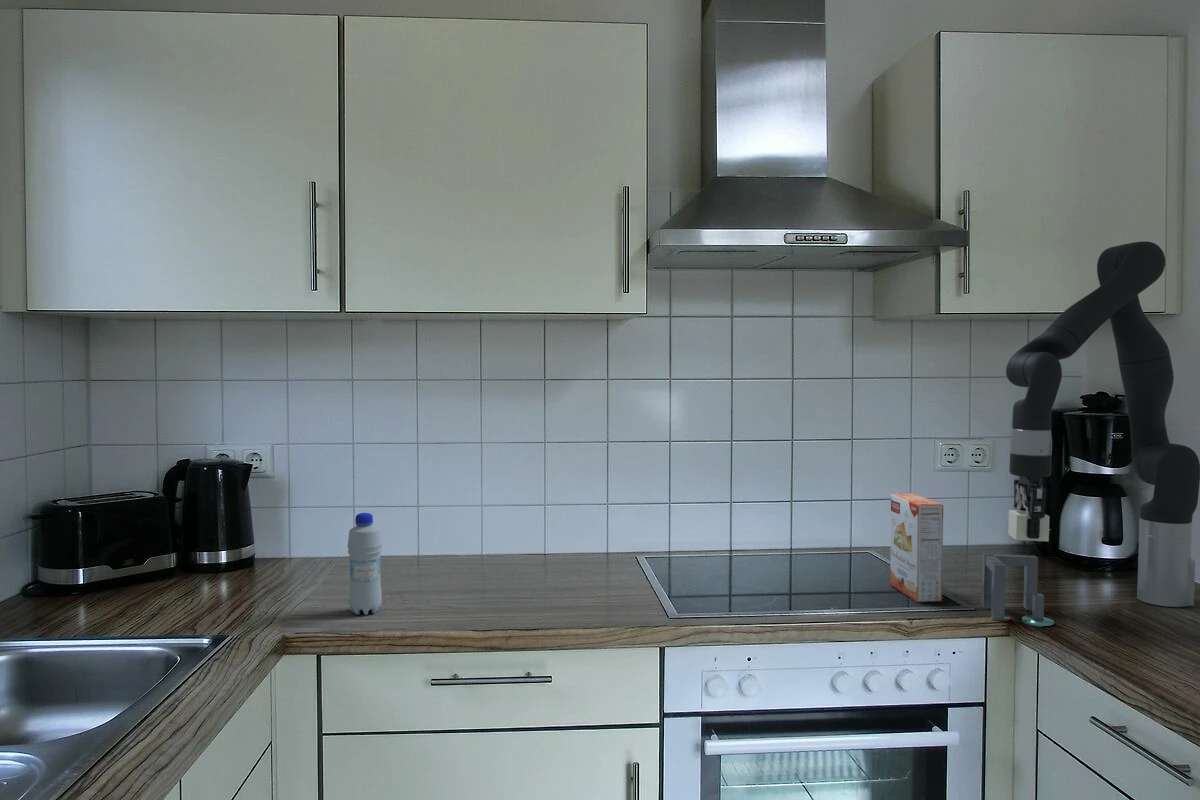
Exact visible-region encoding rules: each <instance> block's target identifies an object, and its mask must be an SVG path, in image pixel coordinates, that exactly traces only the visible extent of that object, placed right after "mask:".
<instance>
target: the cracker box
mask: <svg viewBox="0 0 1200 800" xmlns="http://www.w3.org/2000/svg"><path fill="white" fill-rule="evenodd" d="M943 541H944V504H943V503H940V502H938V501H936V500H932V499H929V498H928V497H925V496H921V495H919V494H916V493H891V494H890V573H889V574H890V575H889V576H890V577H889V579H890V582H889V584H890V586H891V587H893V588H895V589H896V590H898V591H899V592H900V593H902V594H904V595H905V596H906V597H908V598H909V599H911V600H912V601H914V602H916V603H919V604H920V603H921V604H922V603H938V602H939V603H941V602H943V563H944V562H943V561H944V560H943V557H944V556H943V555H944V553H943V552H944V550H943V549H944V542H943Z"/></svg>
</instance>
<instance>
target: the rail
mask: <svg viewBox="0 0 1200 800" xmlns="http://www.w3.org/2000/svg"><path fill="white" fill-rule="evenodd" d="M981 562H982V563H981V564H982V565H981V567H982V568H981V604H980V605H981V607H982V609H983V608H985V609H984V610H990V618H991V619H992V621H1000V622H1002V621H1003V622H1005V612H1006V611H1005V609H1006V608H1005V607H1006V604H1005V602H1006V601H1005V600H1006V570H1007V569H1006V566H1013V567H1014V566H1015V567H1024V569H1023V571H1024V572H1023V603H1022V604H1023V605H1022V606H1023V607H1024V608H1025V609H1026V610H1032V603H1033V593H1038V579H1039V578H1038V577H1039V576H1038V574H1039V573H1038V571H1039V557H1038V556H1036V555H1028V554H1027V555H1024V554H1023V555H1021V554H1001V553H1000V554H998V553H982V560H981ZM1024 608H1023V609H1024ZM1025 609H1024V610H1025ZM1026 610H1025V611H1026Z"/></svg>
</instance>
